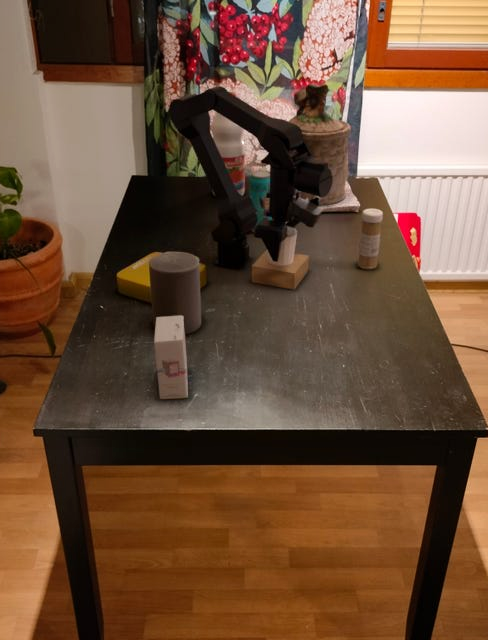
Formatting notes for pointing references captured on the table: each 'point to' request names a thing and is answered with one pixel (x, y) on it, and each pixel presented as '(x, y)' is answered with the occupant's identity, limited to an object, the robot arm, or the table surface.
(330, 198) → the cookie jar
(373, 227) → the sprinkles bottle
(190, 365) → the table surface
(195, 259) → the pillar candle
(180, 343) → the ink box
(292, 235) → the shot glass
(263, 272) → the maple block
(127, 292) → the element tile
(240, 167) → the fruit juice
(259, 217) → the beverage can
